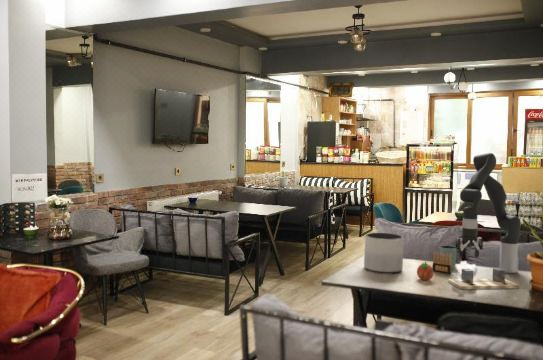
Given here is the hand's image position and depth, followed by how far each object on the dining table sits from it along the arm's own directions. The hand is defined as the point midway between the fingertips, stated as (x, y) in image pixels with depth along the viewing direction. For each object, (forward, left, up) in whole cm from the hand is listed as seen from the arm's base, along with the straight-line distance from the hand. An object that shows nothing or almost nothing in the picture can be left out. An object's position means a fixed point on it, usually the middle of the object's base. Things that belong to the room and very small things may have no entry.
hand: (468, 257), depth 276 cm
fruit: (+19, -10, -15) cm, 26 cm away
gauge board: (-8, +2, -15) cm, 17 cm away
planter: (+34, -34, -15) cm, 51 cm away
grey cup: (-9, -40, -15) cm, 44 cm away
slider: (0, +1, -13) cm, 13 cm away
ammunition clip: (+2, -25, -15) cm, 29 cm away
